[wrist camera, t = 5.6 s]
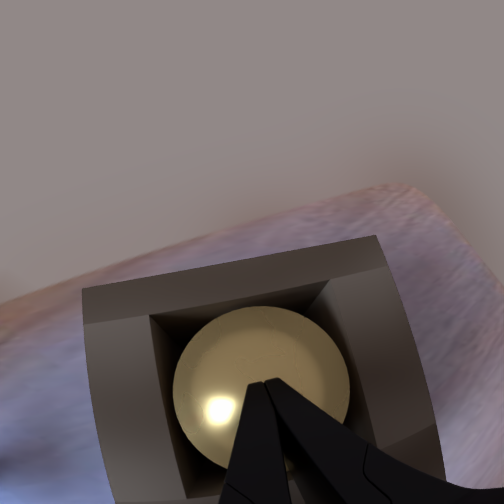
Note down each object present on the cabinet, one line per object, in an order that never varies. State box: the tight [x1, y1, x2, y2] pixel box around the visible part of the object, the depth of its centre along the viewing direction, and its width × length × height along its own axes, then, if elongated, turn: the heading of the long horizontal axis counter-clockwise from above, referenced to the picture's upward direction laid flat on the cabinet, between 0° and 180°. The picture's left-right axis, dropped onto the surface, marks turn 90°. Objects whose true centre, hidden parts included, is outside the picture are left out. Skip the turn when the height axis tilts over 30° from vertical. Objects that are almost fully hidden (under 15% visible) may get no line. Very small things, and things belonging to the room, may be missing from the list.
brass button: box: [173, 306, 350, 472], centre depth 11 cm, size 5×5×6 cm
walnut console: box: [82, 235, 446, 504], centre depth 11 cm, size 11×10×8 cm
